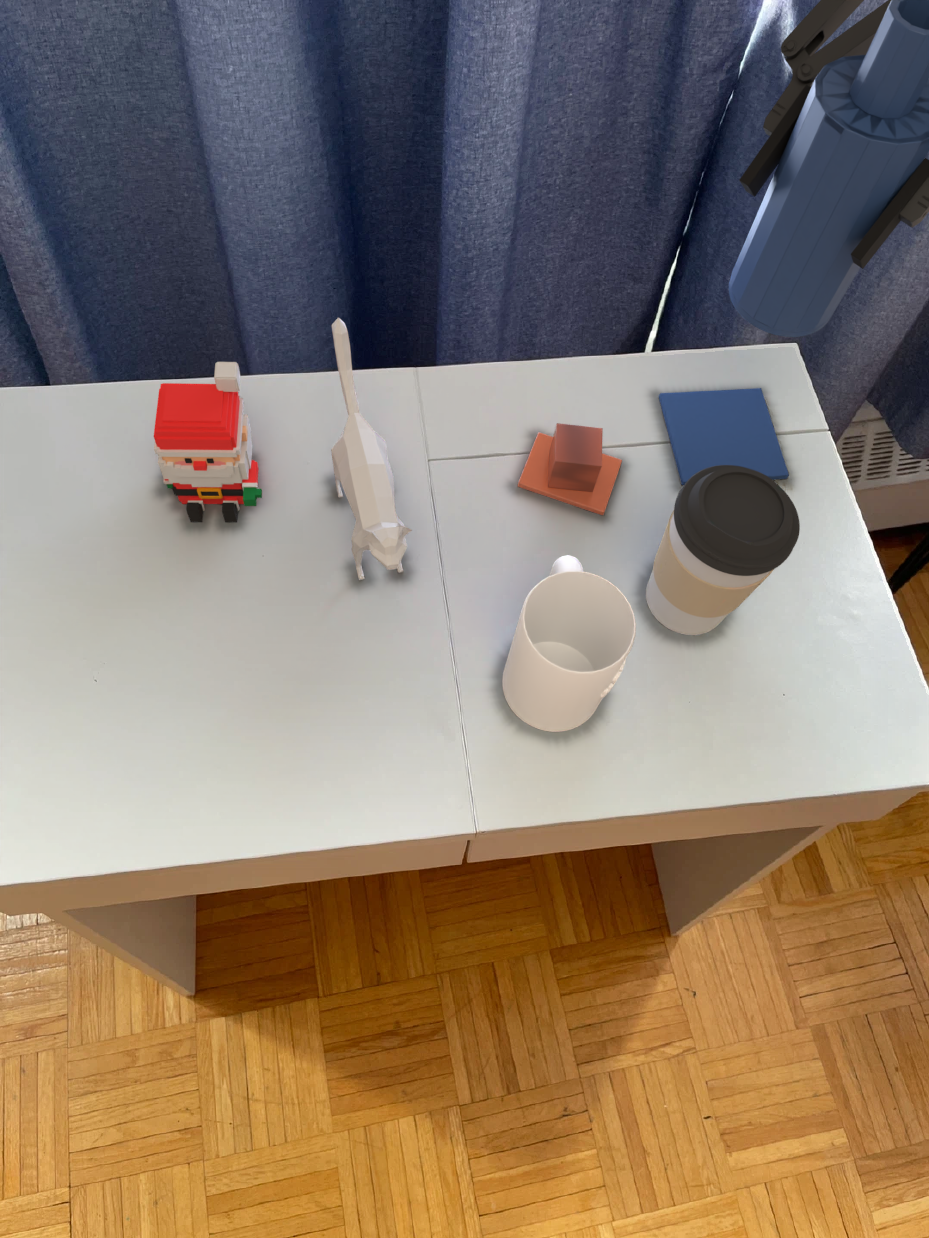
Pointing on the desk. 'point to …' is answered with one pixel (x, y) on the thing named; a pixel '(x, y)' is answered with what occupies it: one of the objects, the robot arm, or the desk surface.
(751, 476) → the coffee cup
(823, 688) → the desk surface
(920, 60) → the blue bottle
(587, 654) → the mug
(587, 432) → the terracotta block
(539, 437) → the orange flat plate
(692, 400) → the blue mat
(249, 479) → the figurine
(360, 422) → the cat figurine
